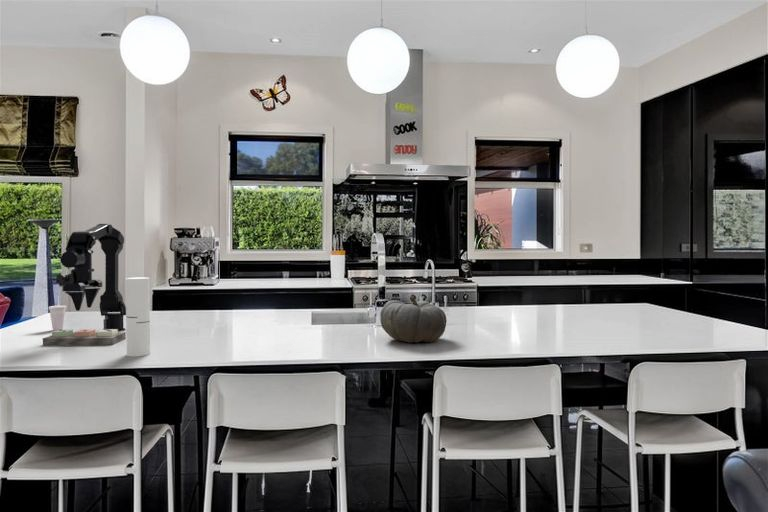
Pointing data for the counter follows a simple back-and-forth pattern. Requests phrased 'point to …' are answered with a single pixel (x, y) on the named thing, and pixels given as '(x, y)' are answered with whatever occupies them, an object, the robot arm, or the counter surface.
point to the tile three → (108, 332)
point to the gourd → (413, 321)
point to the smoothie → (57, 316)
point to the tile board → (85, 340)
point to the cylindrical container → (138, 316)
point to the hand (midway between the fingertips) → (83, 309)
